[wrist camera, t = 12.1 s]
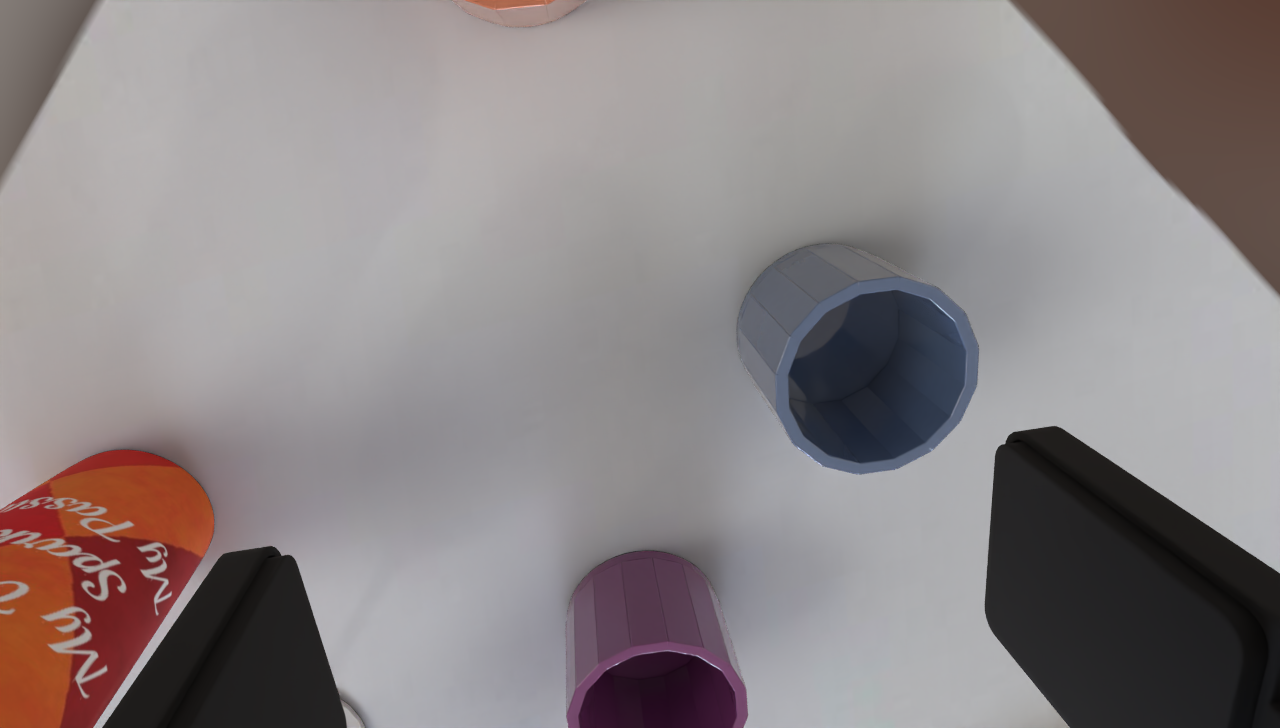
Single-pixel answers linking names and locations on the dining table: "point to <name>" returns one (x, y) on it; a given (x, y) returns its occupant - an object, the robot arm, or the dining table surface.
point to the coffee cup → (91, 581)
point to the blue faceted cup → (857, 357)
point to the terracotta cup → (518, 10)
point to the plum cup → (650, 649)
